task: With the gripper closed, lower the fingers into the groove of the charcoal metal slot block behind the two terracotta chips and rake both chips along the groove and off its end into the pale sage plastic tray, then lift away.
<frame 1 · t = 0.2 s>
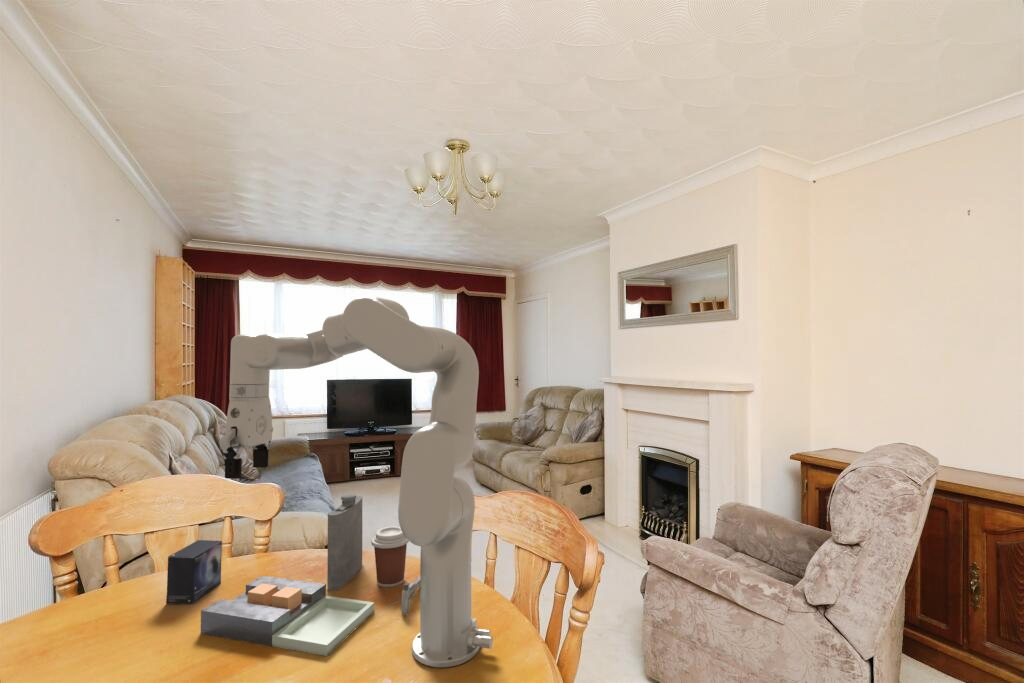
hand: (247, 472, 105), 30 cm above the table, tool pointing down, fingers open, 9 cm apart
chip front: (286, 606, 101), point 3 cm above the table, touching slot block
caliper: (416, 595, 113), on the table
coffee cup: (390, 581, 119), on the table
tray: (326, 628, 98), on the table
chip back: (262, 603, 102), point 3 cm above the table, touching slot block
small box: (195, 594, 113), on the table
hip flask: (347, 576, 122), on the table
slot block: (266, 618, 102), on the table
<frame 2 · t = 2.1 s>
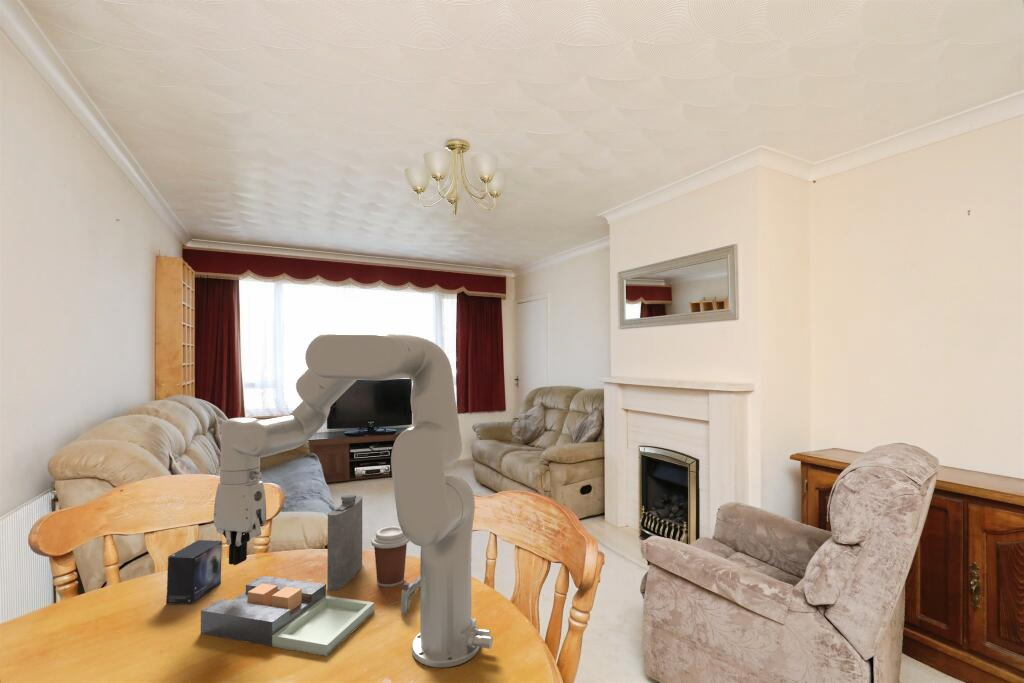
hand: (237, 562, 104), 11 cm above the table, tool pointing down, fingers closed
nothing on the table moved.
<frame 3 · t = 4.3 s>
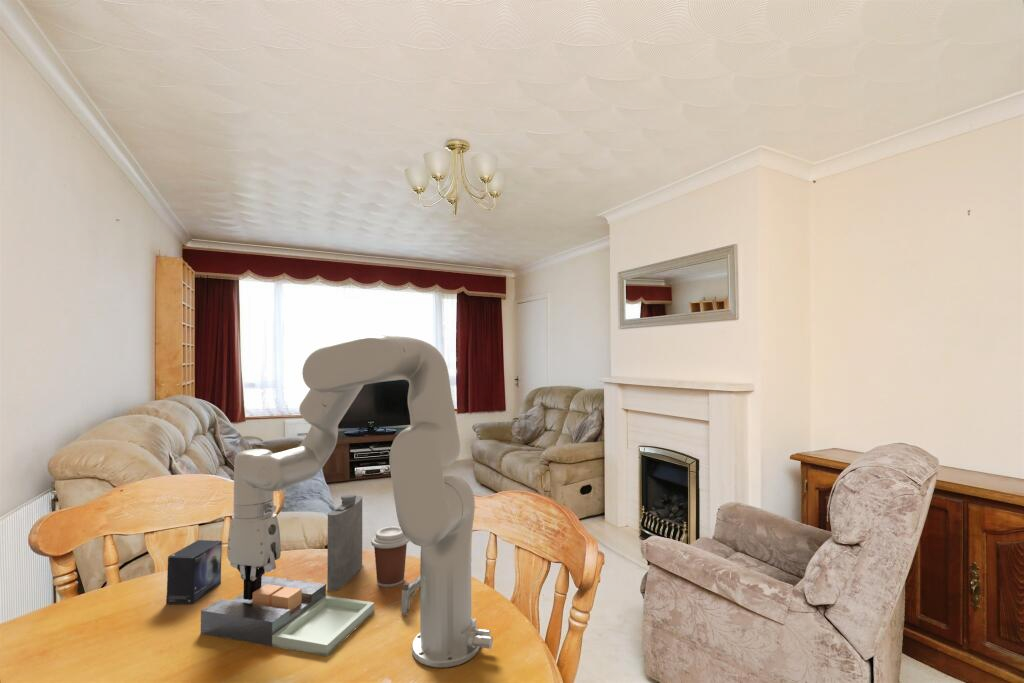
hand: (252, 596, 103), 4 cm above the table, tool pointing down, fingers closed
chip back: (267, 603, 102), point 3 cm above the table, touching gripper, slot block
everything else where it was.
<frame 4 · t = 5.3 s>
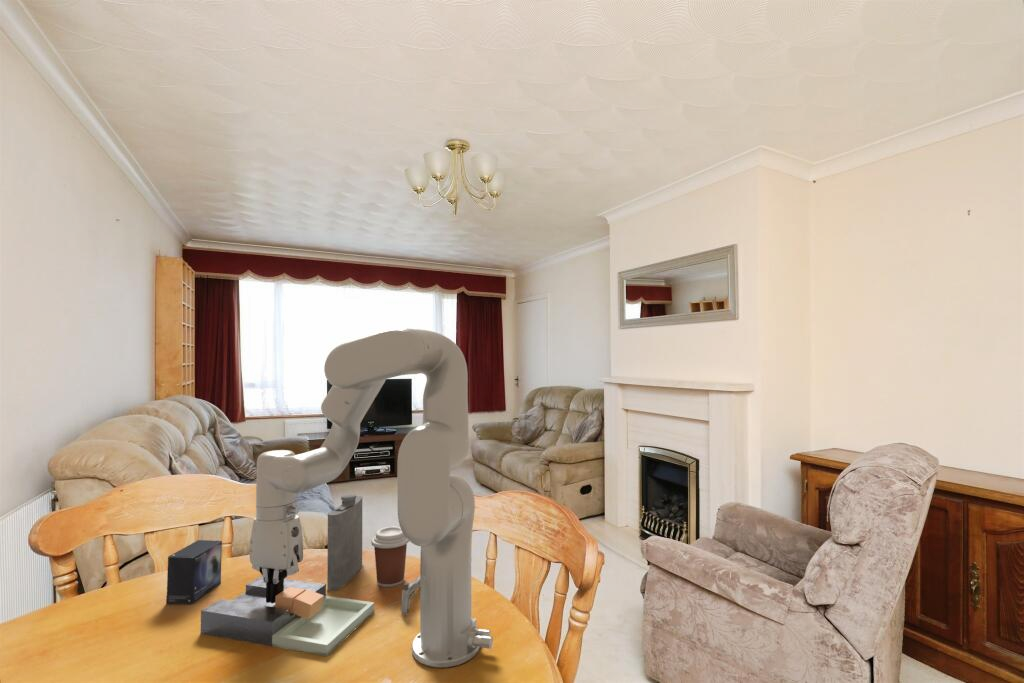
hand: (274, 599, 102), 4 cm above the table, tool pointing down, fingers closed
chip front: (306, 611, 100), point 3 cm above the table, tilted 11°, touching chip back
chip back: (290, 607, 101), point 3 cm above the table, touching chip front, gripper
everything else where it was.
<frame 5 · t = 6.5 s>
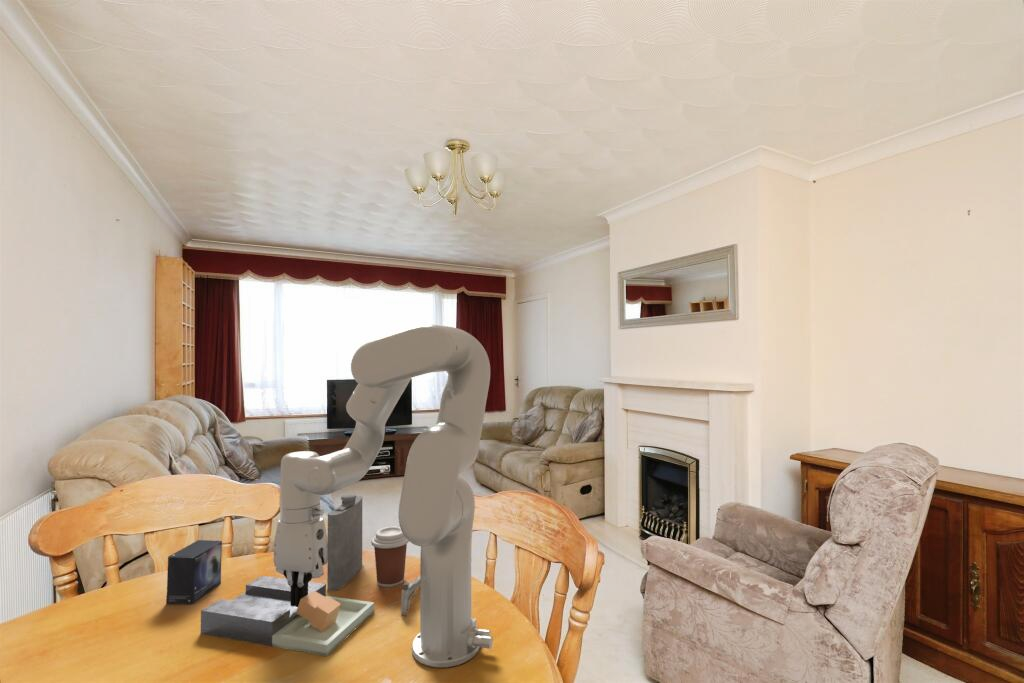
hand: (299, 603, 100), 4 cm above the table, tool pointing down, fingers closed
chip front: (320, 610, 99), point 3 cm above the table, tilted 110°, touching chip back
chip back: (310, 612, 99), point 3 cm above the table, tilted 19°, touching chip front, gripper
everything else where it was.
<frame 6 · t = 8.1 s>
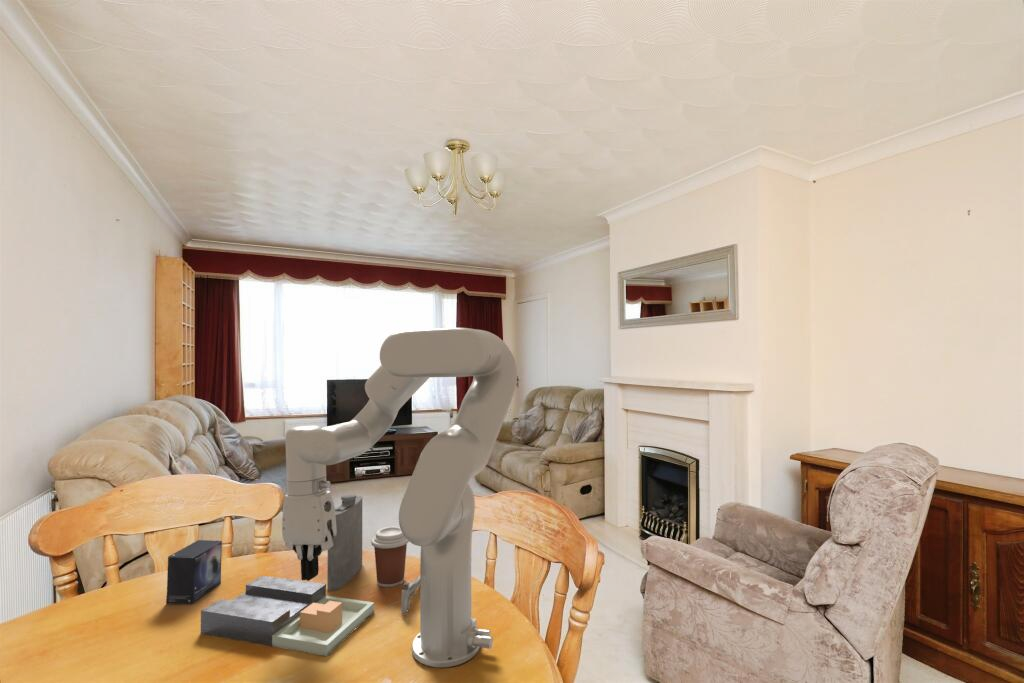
hand: (310, 577, 100), 10 cm above the table, tool pointing down, fingers closed
chip front: (323, 615, 98), point 2 cm above the table, tilted 90°, touching tray
chip back: (315, 623, 99), resting on tray
everything else where it was.
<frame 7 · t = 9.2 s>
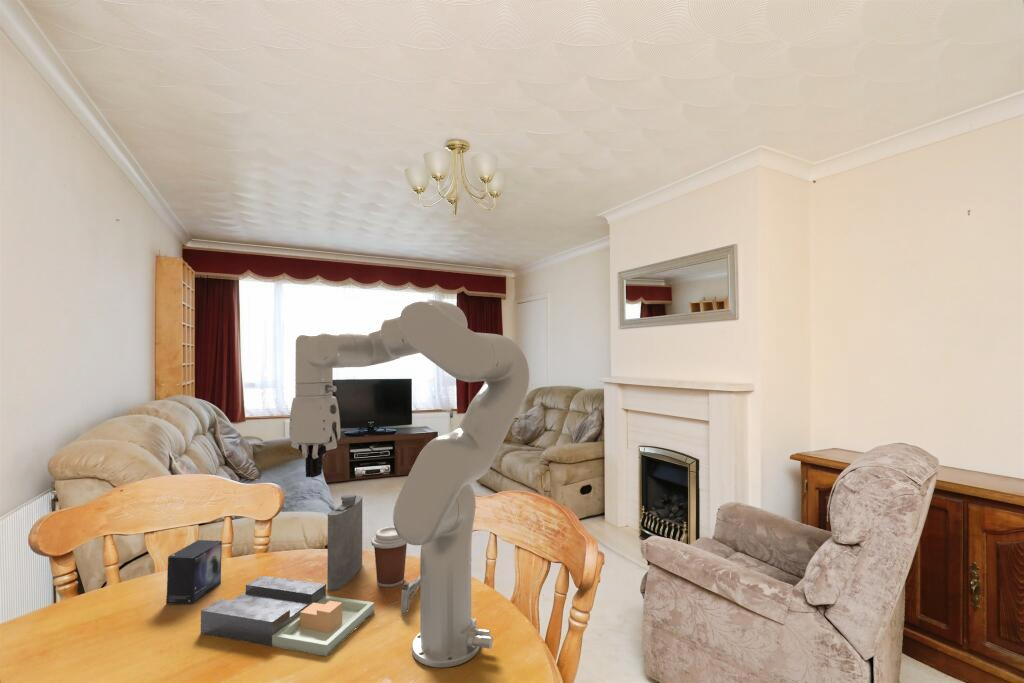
hand: (313, 475, 106), 29 cm above the table, tool pointing down, fingers closed
nothing on the table moved.
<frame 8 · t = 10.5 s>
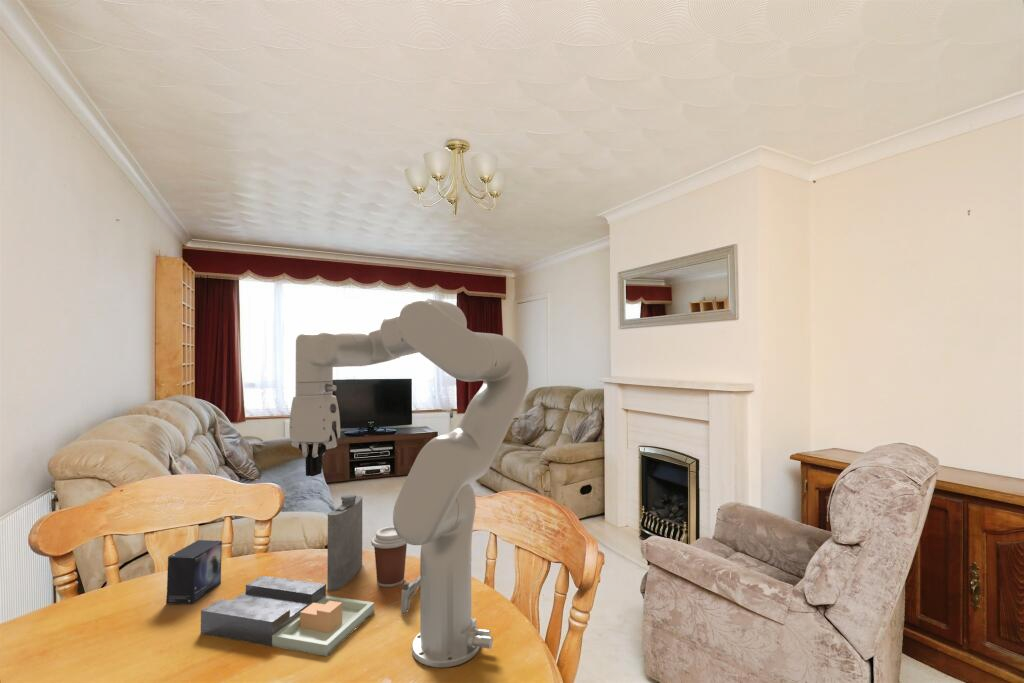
hand: (313, 474, 106), 29 cm above the table, tool pointing down, fingers closed
nothing on the table moved.
at the end: chip front inside the target area (0.9 cm from its centre), point 2.5 cm above the table; chip back inside the target area (2.9 cm from its centre), point 0.5 cm above the table; chip back touching tray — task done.
